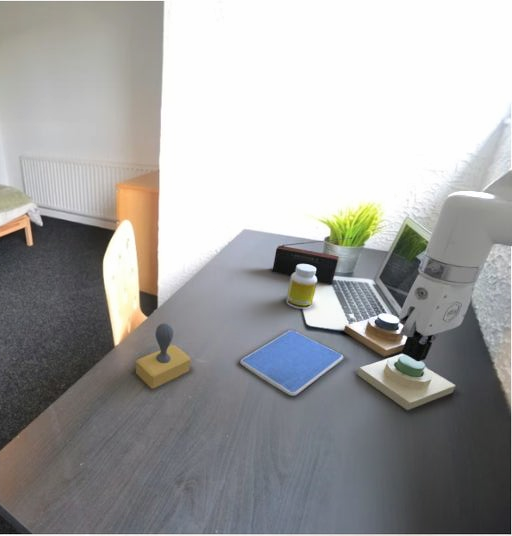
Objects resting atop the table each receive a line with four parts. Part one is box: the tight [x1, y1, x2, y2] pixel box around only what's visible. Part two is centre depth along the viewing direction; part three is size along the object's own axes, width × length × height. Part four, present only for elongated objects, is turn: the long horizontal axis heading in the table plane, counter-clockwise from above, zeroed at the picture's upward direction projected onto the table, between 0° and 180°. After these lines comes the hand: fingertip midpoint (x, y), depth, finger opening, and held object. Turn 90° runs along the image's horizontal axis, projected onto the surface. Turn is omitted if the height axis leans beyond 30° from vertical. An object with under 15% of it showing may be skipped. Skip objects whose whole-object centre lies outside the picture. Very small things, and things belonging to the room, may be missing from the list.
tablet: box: [240, 329, 344, 397], centre depth 79 cm, size 19×13×1 cm, turn 125°
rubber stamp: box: [135, 322, 191, 389], centre depth 75 cm, size 10×6×12 cm, turn 121°
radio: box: [271, 237, 353, 286], centre depth 110 cm, size 19×3×15 cm, turn 55°
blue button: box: [376, 312, 400, 331], centre depth 84 cm, size 4×4×2 cm
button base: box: [343, 315, 407, 357], centre depth 85 cm, size 12×10×4 cm
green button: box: [396, 354, 426, 377], centre depth 71 cm, size 4×4×2 cm
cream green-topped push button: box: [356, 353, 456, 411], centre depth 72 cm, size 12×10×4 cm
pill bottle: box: [285, 264, 318, 310], centre depth 98 cm, size 6×6×11 cm
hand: (413, 356), depth 70 cm, fingers closed
